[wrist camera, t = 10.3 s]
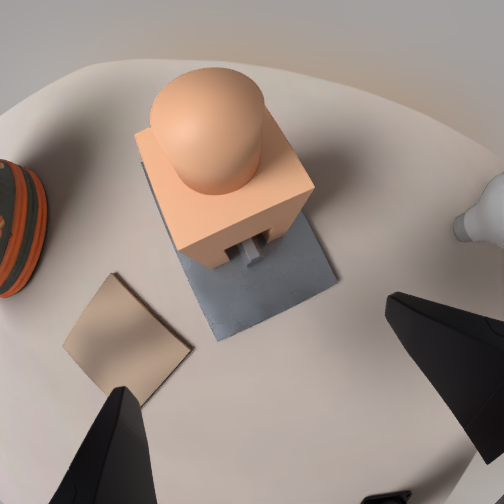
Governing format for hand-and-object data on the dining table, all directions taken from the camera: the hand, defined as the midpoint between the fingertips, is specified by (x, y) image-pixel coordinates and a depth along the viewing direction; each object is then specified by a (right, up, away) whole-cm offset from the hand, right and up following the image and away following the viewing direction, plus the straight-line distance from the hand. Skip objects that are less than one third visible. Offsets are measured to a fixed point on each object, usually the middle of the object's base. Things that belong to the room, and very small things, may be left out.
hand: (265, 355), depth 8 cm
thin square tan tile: (-11, -5, +12) cm, 18 cm away
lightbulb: (+19, +5, +14) cm, 24 cm away
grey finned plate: (-2, +6, +14) cm, 15 cm away
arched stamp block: (-2, +6, +13) cm, 14 cm away
